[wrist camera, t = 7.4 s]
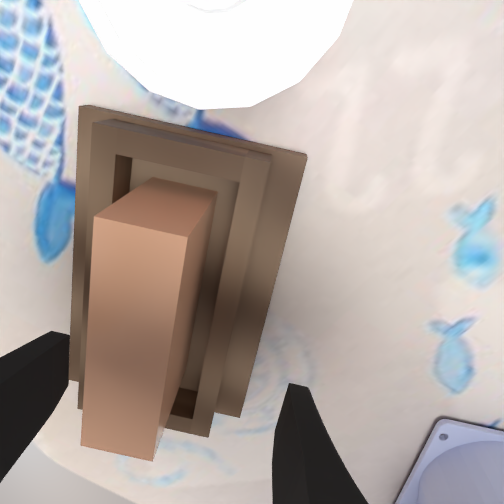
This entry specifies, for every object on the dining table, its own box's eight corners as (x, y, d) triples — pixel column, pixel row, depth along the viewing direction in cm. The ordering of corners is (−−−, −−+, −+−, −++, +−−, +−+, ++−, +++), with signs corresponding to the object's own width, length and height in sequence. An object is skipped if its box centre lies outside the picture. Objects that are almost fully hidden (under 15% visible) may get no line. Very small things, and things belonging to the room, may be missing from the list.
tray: (241, 405, 24) (235, 446, 21) (76, 368, 24) (49, 405, 21) (306, 154, 18) (309, 166, 15) (89, 105, 18) (53, 108, 15)
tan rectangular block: (186, 367, 22) (152, 461, 16) (132, 355, 22) (80, 445, 16) (218, 191, 18) (187, 237, 13) (152, 176, 18) (93, 216, 13)
